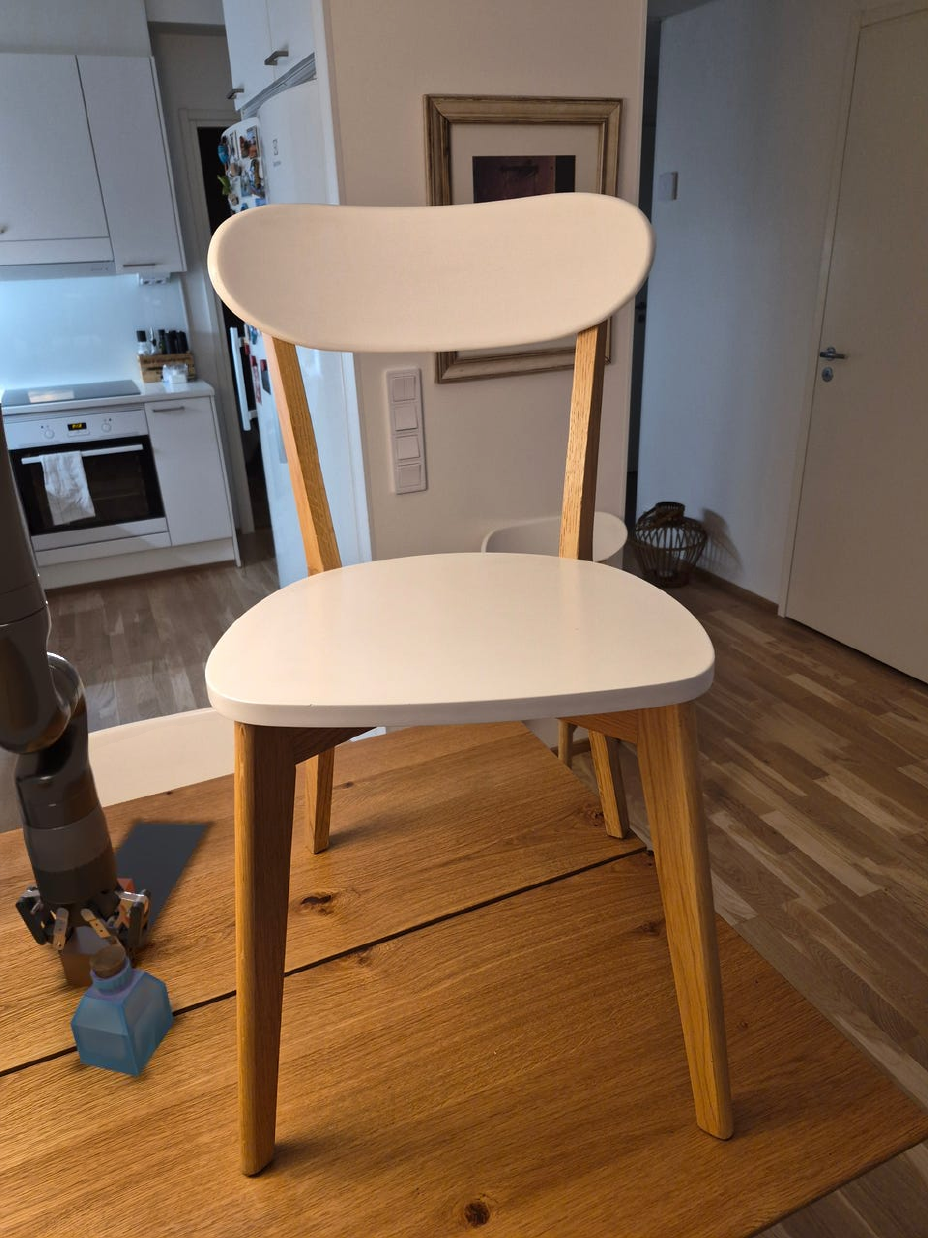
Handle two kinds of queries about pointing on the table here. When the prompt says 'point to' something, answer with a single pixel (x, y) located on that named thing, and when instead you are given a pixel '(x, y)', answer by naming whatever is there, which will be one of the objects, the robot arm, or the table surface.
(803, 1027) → the table surface
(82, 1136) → the table surface
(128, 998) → the perfume bottle
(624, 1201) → the table surface
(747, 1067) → the table surface
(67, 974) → the walnut block
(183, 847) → the mat
